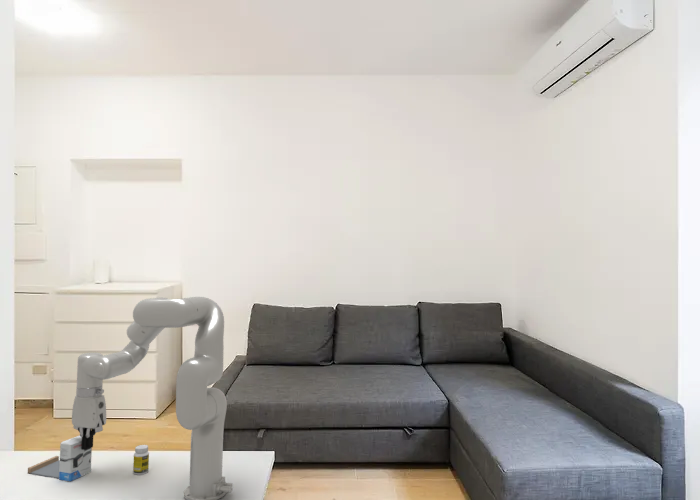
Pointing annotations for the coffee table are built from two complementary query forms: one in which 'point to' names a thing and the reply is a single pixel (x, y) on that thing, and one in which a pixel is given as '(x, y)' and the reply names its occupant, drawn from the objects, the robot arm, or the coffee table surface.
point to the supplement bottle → (141, 460)
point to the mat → (46, 468)
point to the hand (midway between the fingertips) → (87, 448)
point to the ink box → (74, 459)
